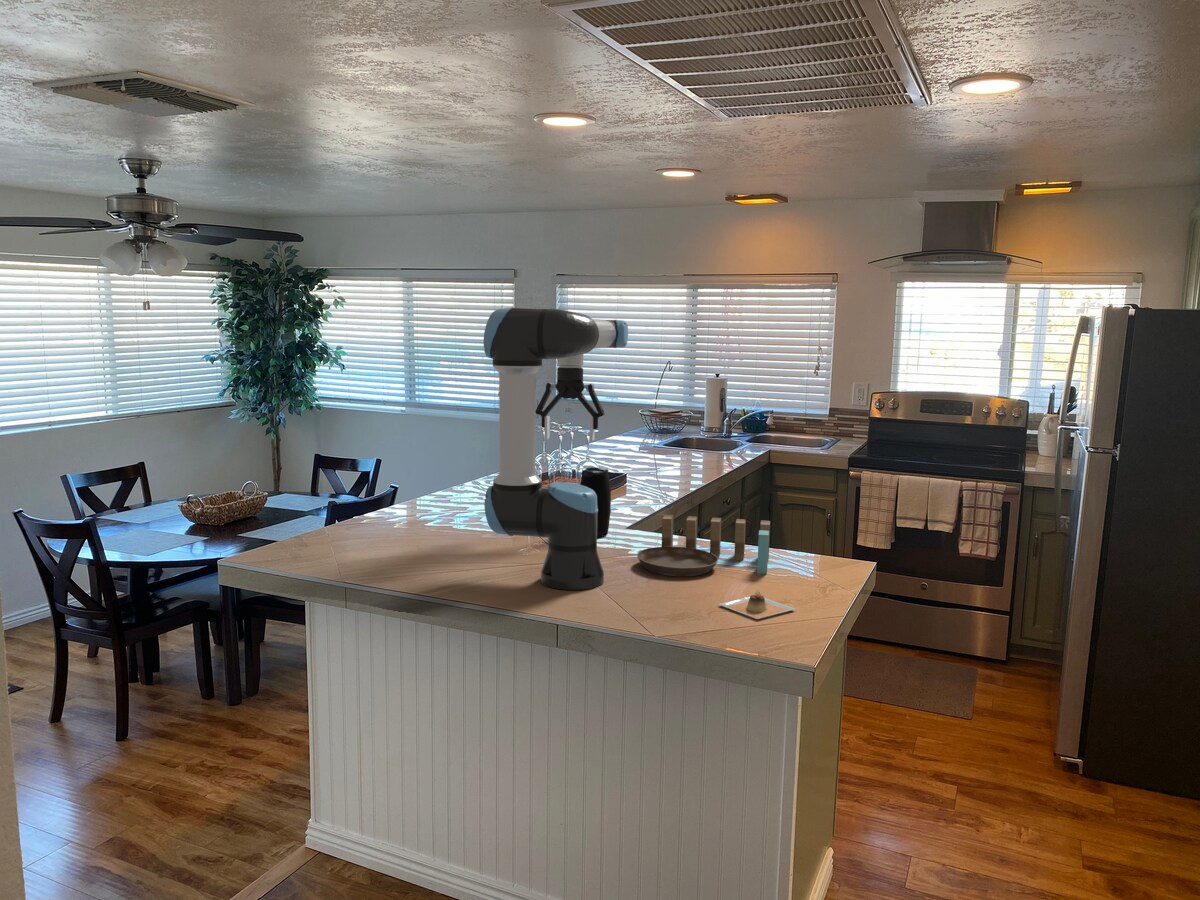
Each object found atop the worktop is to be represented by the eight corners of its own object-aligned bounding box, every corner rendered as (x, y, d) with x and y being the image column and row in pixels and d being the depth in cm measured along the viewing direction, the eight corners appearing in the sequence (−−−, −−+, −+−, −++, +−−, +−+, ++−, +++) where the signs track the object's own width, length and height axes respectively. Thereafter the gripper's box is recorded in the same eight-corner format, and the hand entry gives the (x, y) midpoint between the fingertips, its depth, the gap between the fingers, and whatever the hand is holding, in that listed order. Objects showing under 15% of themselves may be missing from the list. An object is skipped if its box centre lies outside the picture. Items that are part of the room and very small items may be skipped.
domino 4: (743, 560, 234) (744, 523, 233) (734, 559, 235) (735, 522, 234) (744, 555, 239) (745, 519, 238) (735, 555, 240) (736, 518, 238)
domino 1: (670, 555, 238) (671, 519, 237) (661, 554, 239) (662, 518, 237) (672, 550, 243) (673, 515, 242) (663, 550, 244) (664, 514, 242)
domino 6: (766, 574, 222) (768, 535, 220) (757, 573, 222) (758, 534, 221) (767, 568, 226) (768, 530, 225) (757, 568, 227) (759, 530, 225)
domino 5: (768, 561, 233) (769, 524, 232) (759, 561, 234) (760, 524, 232) (768, 557, 238) (770, 520, 237) (759, 556, 238) (761, 520, 237)
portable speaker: (615, 535, 261) (617, 469, 258) (592, 540, 254) (593, 473, 251) (595, 530, 267) (596, 465, 264) (572, 534, 260) (573, 469, 257)
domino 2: (694, 557, 237) (695, 520, 236) (685, 556, 238) (686, 519, 236) (696, 552, 242) (697, 516, 241) (687, 551, 242) (688, 516, 241)
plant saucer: (723, 561, 234) (723, 549, 233) (710, 583, 214) (710, 569, 213) (647, 555, 239) (647, 543, 239) (627, 575, 220) (628, 562, 219)
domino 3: (718, 558, 236) (719, 521, 234) (709, 558, 236) (710, 521, 235) (720, 554, 241) (721, 518, 239) (711, 553, 241) (712, 517, 240)
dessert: (757, 623, 186) (758, 601, 185) (717, 608, 196) (718, 587, 195) (796, 613, 193) (797, 592, 192) (756, 599, 203) (756, 579, 202)
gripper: (615, 367, 257) (613, 439, 260) (532, 365, 262) (532, 436, 265) (609, 368, 250) (608, 442, 253) (525, 366, 255) (524, 439, 258)
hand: (569, 439), depth 259 cm, fingers open, 13 cm apart
